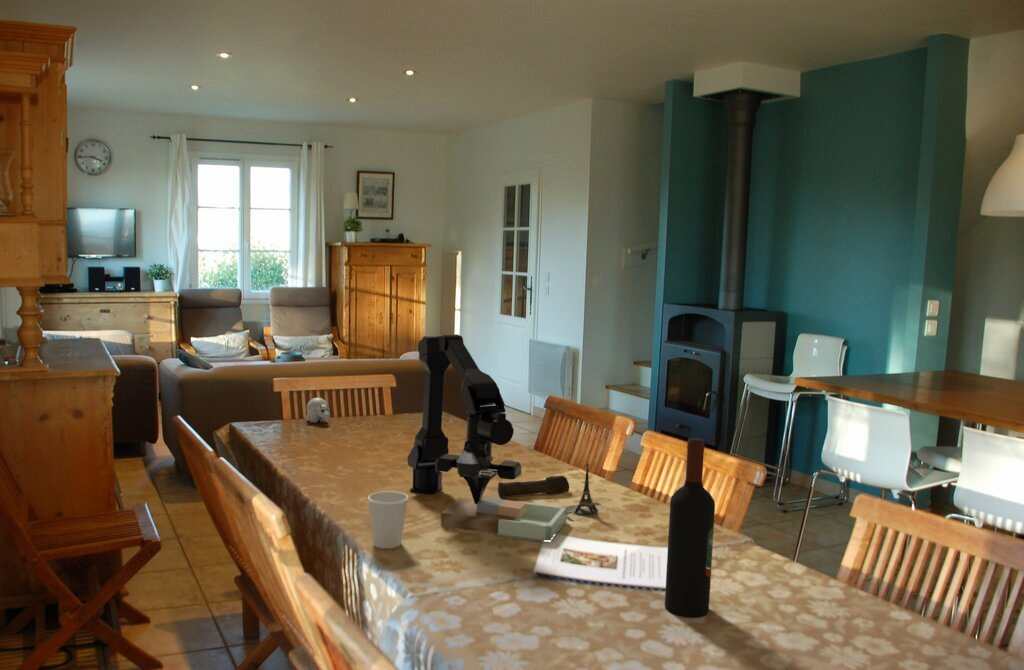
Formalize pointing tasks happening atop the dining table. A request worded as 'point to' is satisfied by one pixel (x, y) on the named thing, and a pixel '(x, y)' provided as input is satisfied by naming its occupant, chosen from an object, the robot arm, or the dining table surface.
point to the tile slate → (489, 505)
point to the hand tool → (534, 487)
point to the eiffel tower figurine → (584, 502)
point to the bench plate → (470, 517)
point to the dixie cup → (387, 517)
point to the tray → (534, 523)
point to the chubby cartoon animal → (317, 410)
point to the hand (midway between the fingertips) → (477, 503)
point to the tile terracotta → (512, 508)
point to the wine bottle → (690, 541)
